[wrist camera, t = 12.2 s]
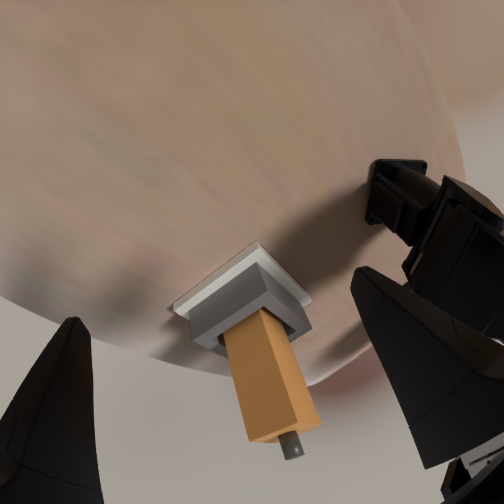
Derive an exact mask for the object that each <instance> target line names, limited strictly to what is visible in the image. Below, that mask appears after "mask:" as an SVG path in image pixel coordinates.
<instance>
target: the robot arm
mask: <svg viewBox="0 0 504 504" xmlns="http://www.w3.org/2000/svg"><path fill="white" fill-rule="evenodd" d="M381 164H382V166H381V167H380V165H381ZM426 170H427V163H426V162H425V161H423V160H406V159H379V160H377V162H376V164H375V170H374V176H373V182H372V187H371V193H370V198H369V203H368V208H367V213H366V217H365V221H366V223H367V224H369V225H373V224H380V223H383V224H384V225H385V226H386V227H387V228H388V229H389V230H390V231H391V232H392V233H396V234H397V235H398V236H399V237H400V238H401V239H402V240H403V241H404V242H405V243H406V244H407V245H408V246H409V247H411V246H413V247H412V249H411V251H410V253H409V255H408V257H407V258H406V260H405V261H404V262H403V264H402V266H401V267H402V269H403V271H404V273H405V275H406V277H407V279H408V281H409V284H410V286H411V288H412V290H413V292H412V291H410V290H408V289H407V288H405V287H403V286H402V285H400V284H398V283H397V282H395V281H393V280H391V279H390V278H388V277H386V276H384V275H383V274H381V273H379V272H377V271H376V270H374V269H372V268H370V267H369V266H363V267H358V268H356V269H355V271H354V275H353V278H352V282H351V286H350V289H351V293H352V296H353V298H354V301H355V304H356V306H357V309H358V312H359V314H360V317H361V320H362V322H363V325H364V327H365V330H366V332H367V334H368V336H369V338H370V340H371V342H372V344H373V346H374V348H375V351H376V353H377V354H378V357H379V359H380V361H381V363H382V366H383V368H384V370H385V372H386V374H387V377H388V379H389V381H390V383H391V385H392V388H393V390H394V392H395V395H396V397H397V399H398V402H399V404H400V406H401V409H402V411H403V413H404V416H405V418H406V421H407V423H408V425H409V429H410V431H411V434H412V436H413V439H414V442H415V444H416V447H417V449H418V452H419V455H420V458H421V460H422V463H423V466H424V468H425V469H429V468H431V467H434V466H437V465H439V464H442V463H444V462H446V461H449V460H450V459H453V458H455V457H456V458H455V459H454V460H453V461H451V462H450V463H449V465H448V469H447V472H446V475H445V478H444V481H443V484H442V487H441V489H440V490H441V492H442V495H443V497H444V500H445V501H444V502H442V503H441V504H504V346H503V345H501V344H500V343H498V342H496V341H494V340H492V339H495V340H500V341H501V342H502V343H503V344H504V215H503V214H502V213H501V211H500V210H499V209H498V208H497V207H496V206H495V205H494V204H493V203H492V202H491V201H490V200H489V199H488V198H487V197H486V196H484V195H483V194H481V193H480V192H479V191H477V190H475V189H474V188H473V187H471V186H469V185H467V184H465V183H463V182H460V181H458V180H456V179H454V178H451V177H449V176H446V175H444V177H443V179H442V181H443V182H442V185H441V186H440V185H439V184H437V183H436V182H434V181H433V180H431V179H430V178H428V177H427V176H425V174H426ZM370 219H371V220H370ZM91 355H92V354H91V337H90V333H89V331H88V330H87V328H86V327H85V325H84V324H83V322H82V321H81V319H80V318H79V317H68V318H67V319H66V320H65V321H64V322H63V323H62V325H61V326H60V328H59V329H58V330H57V332H56V333H55V334H54V336H53V337H52V339H51V340H50V341H49V343H48V344H47V346H46V347H45V349H44V350H43V352H42V353H41V354H40V356H39V357H38V359H37V360H36V362H35V363H34V365H33V366H32V368H31V370H30V371H29V373H28V374H27V376H26V377H25V379H24V381H23V382H22V384H21V385H20V387H19V389H18V390H17V392H16V394H15V396H14V397H13V400H12V401H11V402H10V404H9V406H8V408H7V409H6V411H5V413H4V415H3V416H2V418H1V420H0V504H104V500H103V495H102V491H101V484H100V478H99V470H98V462H97V453H96V443H95V429H94V406H93V369H92V356H91Z"/></svg>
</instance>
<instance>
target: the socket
mask: <svg viewBox="0 0 504 504" xmlns="http://www.w3.org/2000/svg"><path fill="white" fill-rule="evenodd" d="M311 302H312V300H311V298H310V296H309V295H308V294H307V292H306V291H305V290H304V289H303V288H302V287H301V286H300V285H299V284H298V283H297V282H296V281H295V280H294V279H293V278H292V277H291V276H290V275H289V274H288V273H287V272H286V271H285V270H284V269H283V268H282V267H281V266H280V265H279V264H278V263H277V262H276V261H275V260H274V259H273V258H272V257H271V256H270V255H269V254H268V253H267V251H266V250H265V249H264V248H263V247H262V246H261V245H260V244H259V243H258V242H257V241H255V242H254V243H252V244H251V245H250V246H248V247H247V248H246V249H244V250H243V251H242V252H240V253H239V254H238V255H236V256H235V257H234V258H232V259H231V260H230V261H229V262H227V263H226V264H225V265H223V266H222V267H221V268H219V269H218V270H217V271H215V272H214V273H213V274H211V275H210V276H209V277H207V278H206V279H205V280H203V281H202V282H201V283H199V284H198V285H197V286H195V287H194V288H193V289H191V290H190V291H189V292H187V293H186V294H185V295H184V296H182V297H181V298H180V299H178V300H177V301H176V302H174V303H173V311H174V312H176V313H177V314H179V315H181V316H182V317H184V318H186V319H187V320H189V321H190V330H191V338H192V341H193V342H195V343H197V344H199V345H201V346H203V347H205V348H207V349H209V350H211V351H213V352H215V353H217V354H219V355H221V356H224V357H226V358H228V359H229V357H228V353H227V348H226V344H225V339H224V335H223V332H224V331H226V330H228V329H229V328H231V327H232V326H234V325H235V324H237V323H239V322H240V321H242V320H243V319H245V318H246V317H248V316H249V315H251V314H252V313H254V312H255V311H257V310H258V309H260V308H261V307H263V306H264V307H266V308H267V309H268V310H269V311H271V312H272V313H273V314H275V315H276V316H277V317H279V318H280V320H281V322H282V325H283V327H284V330H285V332H286V335H287V337H288V340H289V342H292V341H294V340H295V339H297V338H298V337H300V336H302V335H303V334H305V333H306V332H308V331H310V330H311V329H312V326H311V324H310V322H309V320H308V318H307V316H306V314H305V312H304V310H303V307H305V306H306V305H308V304H309V303H311Z"/></svg>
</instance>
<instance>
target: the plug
mask: <svg viewBox="0 0 504 504" xmlns="http://www.w3.org/2000/svg"><path fill="white" fill-rule="evenodd" d="M223 335H224V339H225V344H226V348H227V353H228V357H229V362H230V366H231V371H232V375H233V379H234V383H235V388H236V392H237V396H238V400H239V404H240V408H241V412H242V416H243V420H244V423H245V427H246V431H247V435H248V439H249V441H250V442H264V443H280V445H281V448H282V451H283V454H284V457H285V460H290V459H294V458H297V457H300V456H302V455H304V451H303V448H302V445H301V443H300V440H299V437H298V435H300V434H302V433H305V432H307V431H309V430H311V429H314V428H316V427H318V426H320V425H321V421H320V419H319V416H318V414H317V411H316V409H315V406H314V404H313V401H312V399H311V396H310V393H309V391H308V388H307V386H306V383H305V381H304V378H303V375H302V373H301V370H300V368H299V365H298V363H297V360H296V358H295V355H294V353H293V350H292V347H291V345H290V342H289V340H288V337H287V335H286V332H285V330H284V327H283V325H282V322H281V320H280V318H279V317H277V316H276V315H275V314H273V313H272V312H271V311H269V310H268V309H267V308H266V307H264V306H263V307H261V308H260V309H258V310H257V311H255V312H254V313H252V314H251V315H249V316H248V317H246V318H245V319H243V320H242V321H240V322H239V323H237V324H235V325H234V326H232V327H231V328H229V329H228V330H226V331H224V332H223Z"/></svg>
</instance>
